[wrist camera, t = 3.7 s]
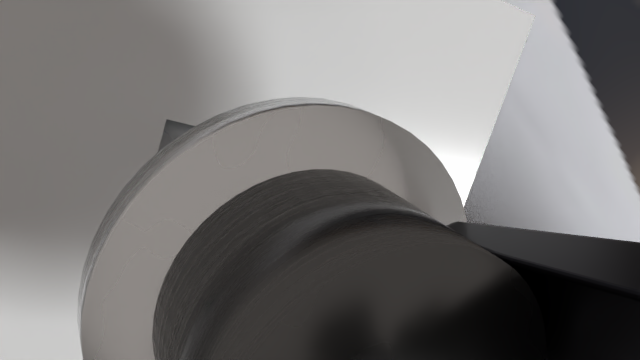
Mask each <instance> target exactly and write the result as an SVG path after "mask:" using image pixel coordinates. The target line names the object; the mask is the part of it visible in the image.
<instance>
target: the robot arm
mask: <svg viewBox="0 0 640 360" xmlns="http://www.w3.org/2000/svg"><path fill="white" fill-rule="evenodd" d="M447 226H448V227H450V228H451V229H453V230H455V231H456V232H458V233H459V234H461V235H463V236H464V237H466V238H468V239H469V240H471V241H472V242H474V243H476V244H477V245H479V246H480V247H482V248H484V249H485V250H487V251H489V252H490V253H492V254H493V255H495V256H497V257H498V258H500V259H501V260H503V261H504V262H505V263H507V264H508V265H510V266H511V267H512V268H514V269H515V270H516V271H517V272H518V273H519V274H520V276H521V277H522V278H523V279H524V280H525V281H526V282H527V284H528V285H529V287H530V289H531V290H532V292H533V293H534V295H535V297H536V299H537V302H538V304H539V307H540V309H541V312H542V316H543V321H544V325H545V331H546V344H547V351H546V360H640V243H639V242H631V241H622V240H614V239H605V238H596V237H588V236H579V235H571V234H562V233H554V232H545V231H537V230H528V229H520V228H511V227H503V226H494V225H486V224H477V223H468V222H459V221H457V222H453V223H451V224H449V225H447Z"/></svg>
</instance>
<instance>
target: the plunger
mask: <svg viewBox="0 0 640 360" xmlns="http://www.w3.org/2000/svg"><path fill="white" fill-rule="evenodd" d="M457 221H459V222H467V218H466V214H465V211H464V207H463V203H462V200H461V197H460V195H459V193H458V190H457V188H456V186H455V183H454V181H453V179H452V178H451V176H450V174H449V173H448V171H447V170H446V168H445V167H444V165H443V163H442V162H441V161H440V160H439V159H438V157H437V156H436V155H435V154H434V153H433V152H432V151H431V150H430V148H429V147H428V146H427V145H425V144H424V143H423V142H422V141H420V140H419V139H418V138H417V137H416V136H414V135H413V134H412V133H411V132H409V131H407V130H405V129H404V128H402V127H400V126H398V125H397V124H395V123H393V122H391V121H389V120H387V119H385V118H382V117H380V116H378V115H375V114H373V113H371V112H369V111H366V110H363V109H361V108H358V107H355V106H353V105H350V104H347V103H343V102H338V101H334V100H329V99H324V98H310V97H289V98H277V99H269V100H265V101H260V102H255V103H251V104H246V105H243V106H240V107H237V108H235V109H232V110H229V111H226V112H224V113H221V114H218V115H216V116H214V117H212V118H210V119H208V120H206V121H204V122H202V123H200V124H198V125H196V126H193V125H189V124H184V123H180V122H176V121H172V120H166V123H165V127H164V131H163V134H162V138H161V142H160V145H159V149H158V153H157V154H156V155H155V156H153V157H152V158H151V159H150V160H149V161H148V162H147V163H145V164H144V165H143V166H142V167H141V168H140V170H139V171H138V172H137V173H136V174H135V175H134V176H133V178H132V179H131V180H130V181H129V182H128V183H127V184H126V185H125V187H124V188H123V189H122V190H121V192H120V193H119V195H118V196H117V198H116V199H115V201H114V202H113V204H112V205H111V207H110V208H109V210H108V211H107V213H106V214H105V216H104V218H103V220H102V222H101V224H100V226H99V228H98V230H97V232H96V234H95V236H94V238H93V240H92V243H91V246H90V249H89V252H88V255H87V258H86V261H85V263H84V266H83V271H82V276H81V282H80V287H79V293H78V314H77V323H78V331H79V338H80V346H81V352H82V357H83V360H546V351H547V344H546V331H545V325H544V321H543V316H542V312H541V309H540V307H539V304H538V302H537V299H536V297H535V295H534V293H533V292H532V290H531V289H530V287H529V285H528V284H527V282H526V281H525V280H524V279H523V278H522V277H521V276H520V274H519V273H518V272H517V271H516V270H515V269H514V268H512V267H511V266H510V265H508V264H507V263H505V262H504V261H503V260H501V259H500V258H498V257H497V256H495V255H493V254H492V253H490V252H489V251H487V250H485V249H484V248H482V247H480V246H479V245H477V244H476V243H474V242H472V241H471V240H469V239H468V238H466V237H464V236H463V235H461V234H459V233H458V232H456V231H455V230H453V229H451V228H450V227H448V226H447V225H449V224H451V223H453V222H457Z"/></svg>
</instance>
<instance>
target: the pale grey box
mask: <svg viewBox="0 0 640 360" xmlns="http://www.w3.org/2000/svg"><path fill="white" fill-rule="evenodd" d="M534 19H535V15H533V14H531V13H528V12H526V11H524V10H522V9H520V8H518V7H515V6H513V5H511V4H509V3H507V2H505V1H502V0H0V360H83V357H82V352H81V346H80V338H79V331H78V323H77V314H78V293H79V287H80V282H81V276H82V271H83V266H84V263H85V261H86V258H87V255H88V252H89V249H90V246H91V243H92V240H93V238H94V236H95V234H96V232H97V230H98V228H99V226H100V224H101V222H102V220H103V218H104V216H105V214H106V213H107V211H108V210H109V208H110V207H111V205H112V204H113V202H114V201H115V199H116V198H117V196H118V195H119V193H120V192H121V190H122V189H123V188H124V187H125V185H126V184H127V183H128V182H129V181H130V180H131V179H132V178H133V176H134V175H135V174H136V173H137V172H138V171H139V170H140V168H141V167H142V166H143V165H144V164H145V163H147V162H148V161H149V160H150V159H151V158H152V157H153V156H155V155H156V154H157V153H158V149H159V145H160V142H161V138H162V134H163V131H164V127H165V123H166V120H172V121H176V122H180V123H184V124H189V125H193V126H196V125H198V124H200V123H202V122H204V121H206V120H208V119H210V118H212V117H214V116H216V115H218V114H221V113H224V112H226V111H229V110H232V109H235V108H237V107H240V106H243V105H246V104H251V103H255V102H260V101H265V100H269V99H277V98H289V97H310V98H324V99H329V100H334V101H338V102H343V103H347V104H350V105H353V106H355V107H358V108H361V109H363V110H366V111H369V112H371V113H373V114H375V115H378V116H380V117H382V118H385V119H387V120H389V121H391V122H393V123H395V124H397V125H398V126H400V127H402V128H404V129H405V130H407V131H409V132H411V133H412V134H413V135H414V136H416V137H417V138H418V139H419V140H420V141H422V142H423V143H424V144H425V145H427V146H428V147H429V148H430V150H431V151H432V152H433V153H434V154H435V155H436V156H437V157H438V159H439V160H440V161H441V162H442V163H443V165H444V167H445V168H446V170H447V171H448V173H449V174H450V176H451V178H452V179H453V181H454V183H455V186H456V188H457V190H458V193H459V195H460V197H461V200H462V203H463V207H464V204H465V202H466V199H467V196H468V194H469V191H470V188H471V186H472V183H473V181H474V178H475V175H476V173H477V170H478V167H479V165H480V162H481V159H482V157H483V154H484V151H485V149H486V146H487V143H488V141H489V138H490V136H491V133H492V130H493V128H494V125H495V122H496V120H497V117H498V114H499V112H500V109H501V106H502V104H503V101H504V99H505V96H506V93H507V91H508V88H509V85H510V83H511V80H512V77H513V75H514V72H515V69H516V67H517V64H518V61H519V59H520V56H521V54H522V51H523V48H524V46H525V43H526V40H527V38H528V35H529V32H530V30H531V27H532V24H533V22H534Z"/></svg>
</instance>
